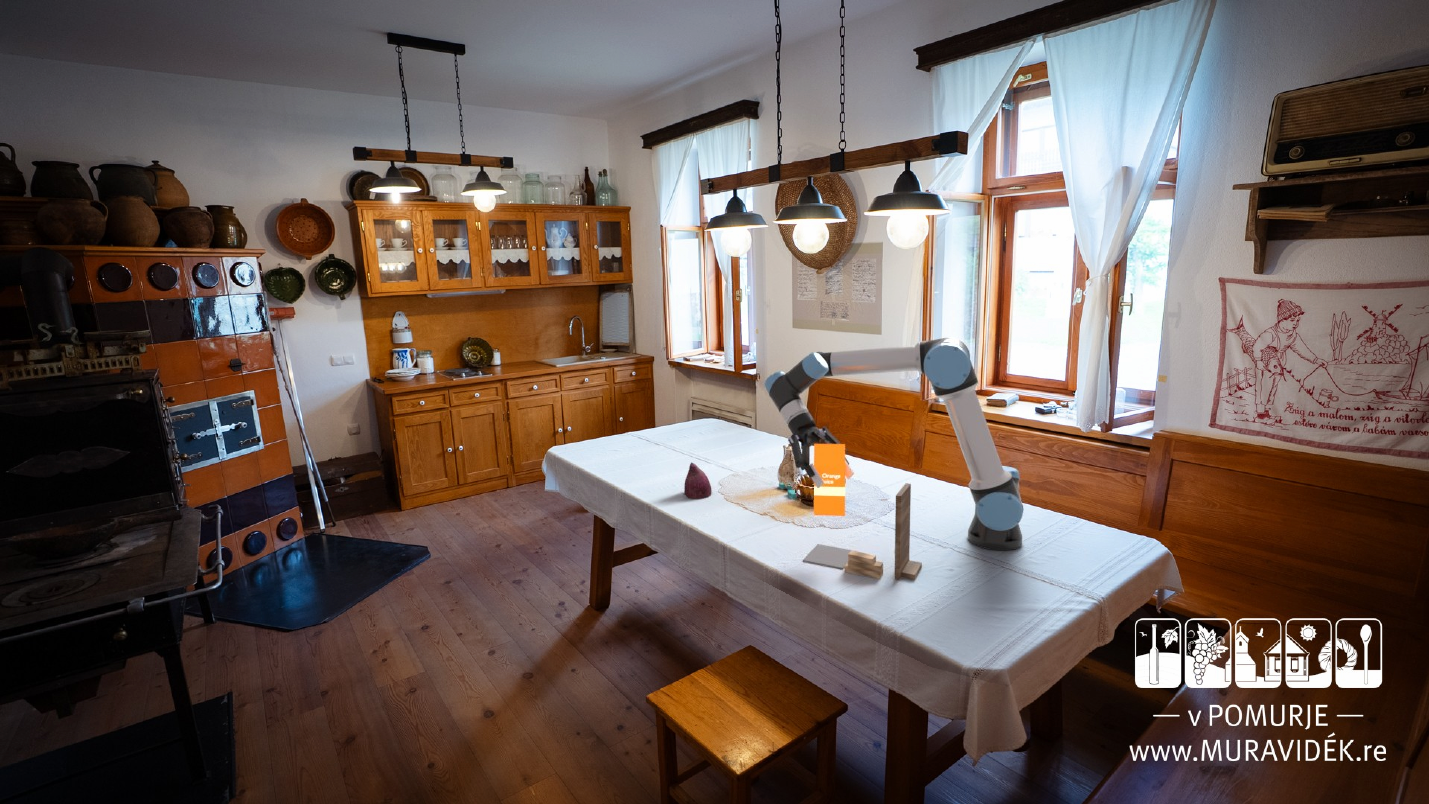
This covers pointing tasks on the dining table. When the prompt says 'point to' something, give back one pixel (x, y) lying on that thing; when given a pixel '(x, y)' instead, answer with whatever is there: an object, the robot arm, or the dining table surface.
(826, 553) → the grey mat
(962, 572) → the dining table surface
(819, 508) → the orange juice
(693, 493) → the vegetable
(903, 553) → the walnut rack
